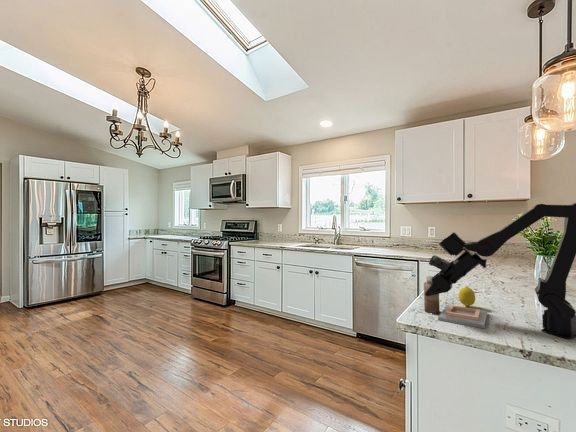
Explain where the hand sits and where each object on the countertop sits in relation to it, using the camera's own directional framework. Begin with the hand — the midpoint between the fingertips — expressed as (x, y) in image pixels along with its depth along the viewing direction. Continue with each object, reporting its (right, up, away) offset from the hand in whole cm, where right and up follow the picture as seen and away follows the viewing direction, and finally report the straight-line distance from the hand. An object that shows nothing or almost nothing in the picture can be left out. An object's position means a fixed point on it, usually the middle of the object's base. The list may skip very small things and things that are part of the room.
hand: (428, 292), depth 104 cm
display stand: (+9, -7, -7) cm, 13 cm away
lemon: (+17, -7, +4) cm, 18 cm away
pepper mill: (+1, -7, -1) cm, 7 cm away
